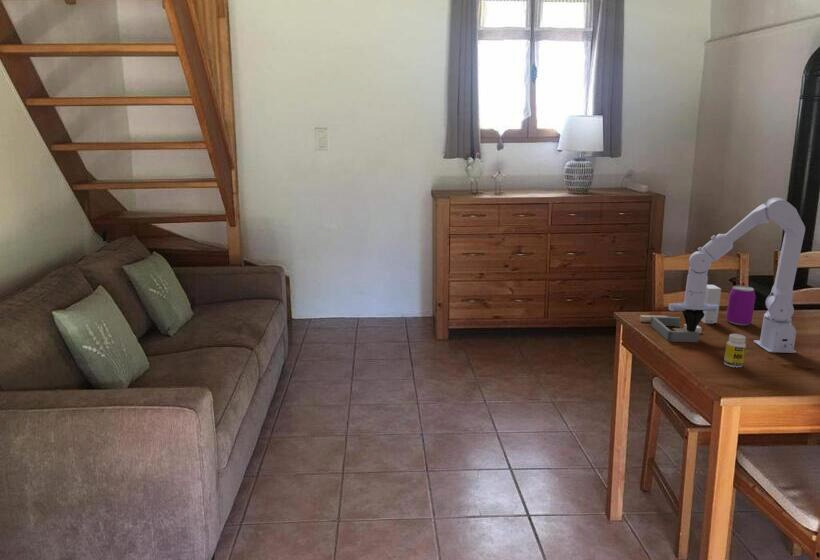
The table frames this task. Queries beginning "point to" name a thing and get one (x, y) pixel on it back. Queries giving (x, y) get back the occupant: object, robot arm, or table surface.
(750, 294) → the beverage can
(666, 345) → the table surface
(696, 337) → the box
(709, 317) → the skincare box
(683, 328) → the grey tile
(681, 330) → the walnut tile
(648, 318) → the scraper
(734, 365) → the supplement bottle
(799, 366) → the table surface
